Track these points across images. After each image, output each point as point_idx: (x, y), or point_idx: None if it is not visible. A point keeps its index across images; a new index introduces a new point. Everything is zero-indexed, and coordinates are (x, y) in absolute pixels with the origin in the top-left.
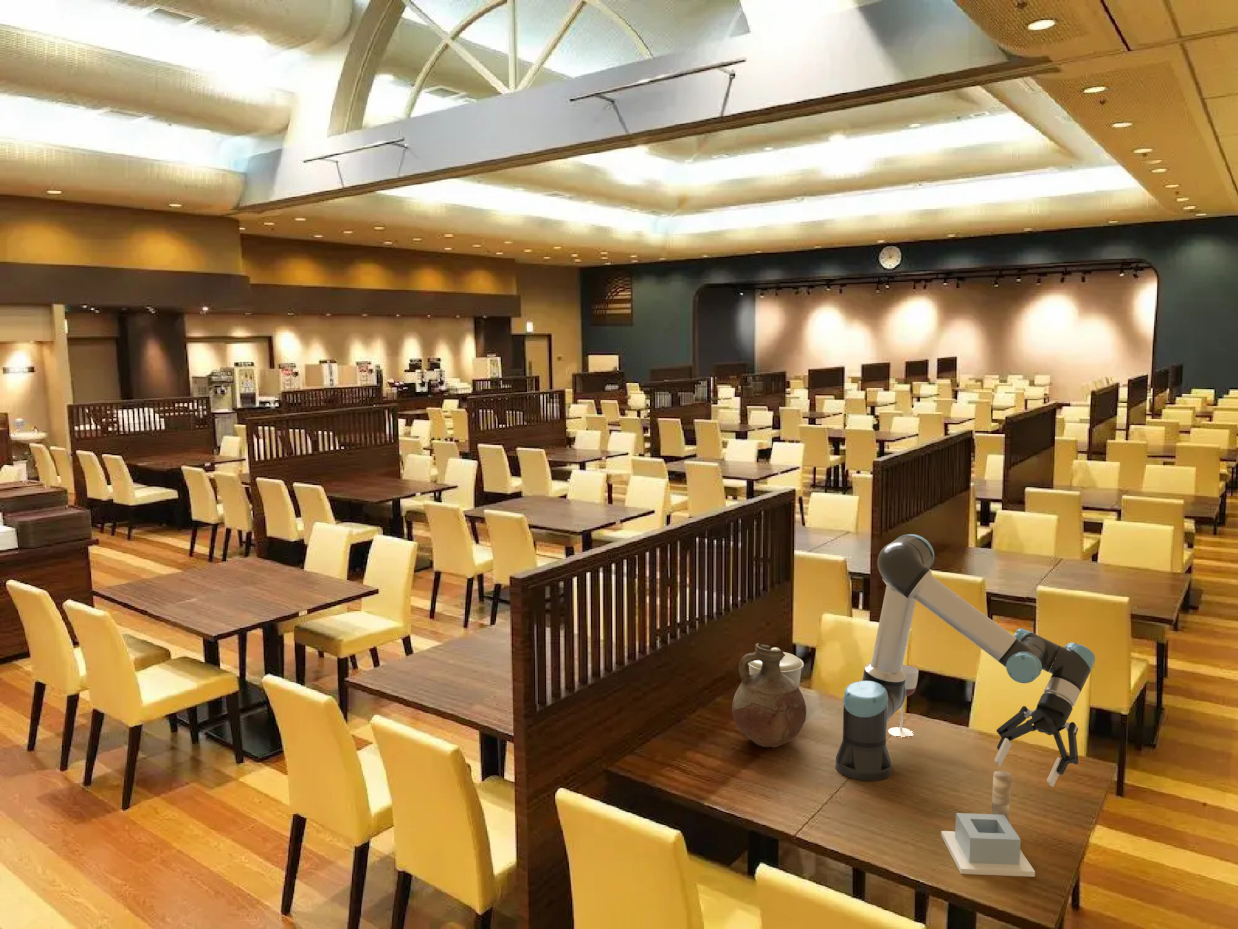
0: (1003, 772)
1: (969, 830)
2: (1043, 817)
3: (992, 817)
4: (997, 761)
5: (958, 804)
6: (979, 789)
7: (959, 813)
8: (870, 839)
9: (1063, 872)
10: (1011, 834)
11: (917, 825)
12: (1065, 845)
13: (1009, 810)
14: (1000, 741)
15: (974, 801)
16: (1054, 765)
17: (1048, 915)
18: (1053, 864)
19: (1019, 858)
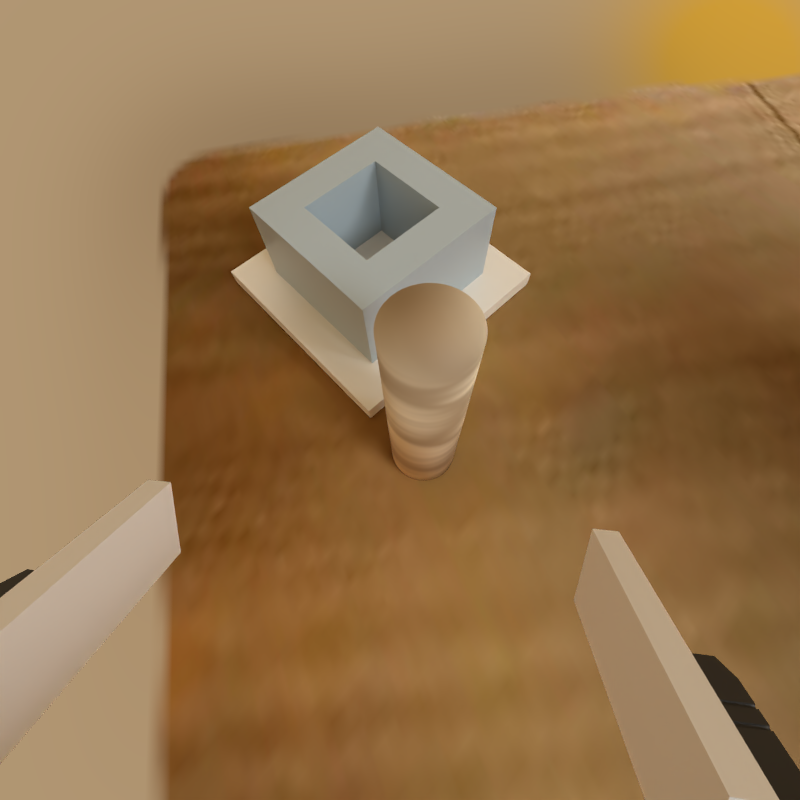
0: (441, 359)
1: (401, 152)
2: (333, 699)
3: (385, 263)
4: (590, 541)
5: (634, 514)
6: None
7: (486, 210)
8: (628, 158)
9: (174, 354)
10: (285, 214)
11: (609, 285)
12: (199, 519)
13: (389, 431)
14: (782, 759)
15: None
16: (46, 581)
17: (172, 181)
18: (208, 373)
19: (271, 257)
